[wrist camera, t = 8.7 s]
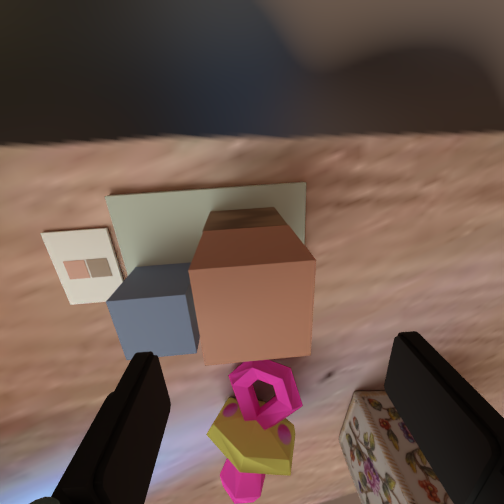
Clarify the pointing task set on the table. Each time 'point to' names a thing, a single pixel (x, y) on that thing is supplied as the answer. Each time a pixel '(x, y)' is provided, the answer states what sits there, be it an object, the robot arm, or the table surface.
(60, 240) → the tile
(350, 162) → the table surface
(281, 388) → the toy
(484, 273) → the table surface
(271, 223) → the walnut block
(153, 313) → the blue-gray block
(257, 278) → the terracotta block
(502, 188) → the table surface
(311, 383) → the table surface
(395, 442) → the decorative jar
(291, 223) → the board
